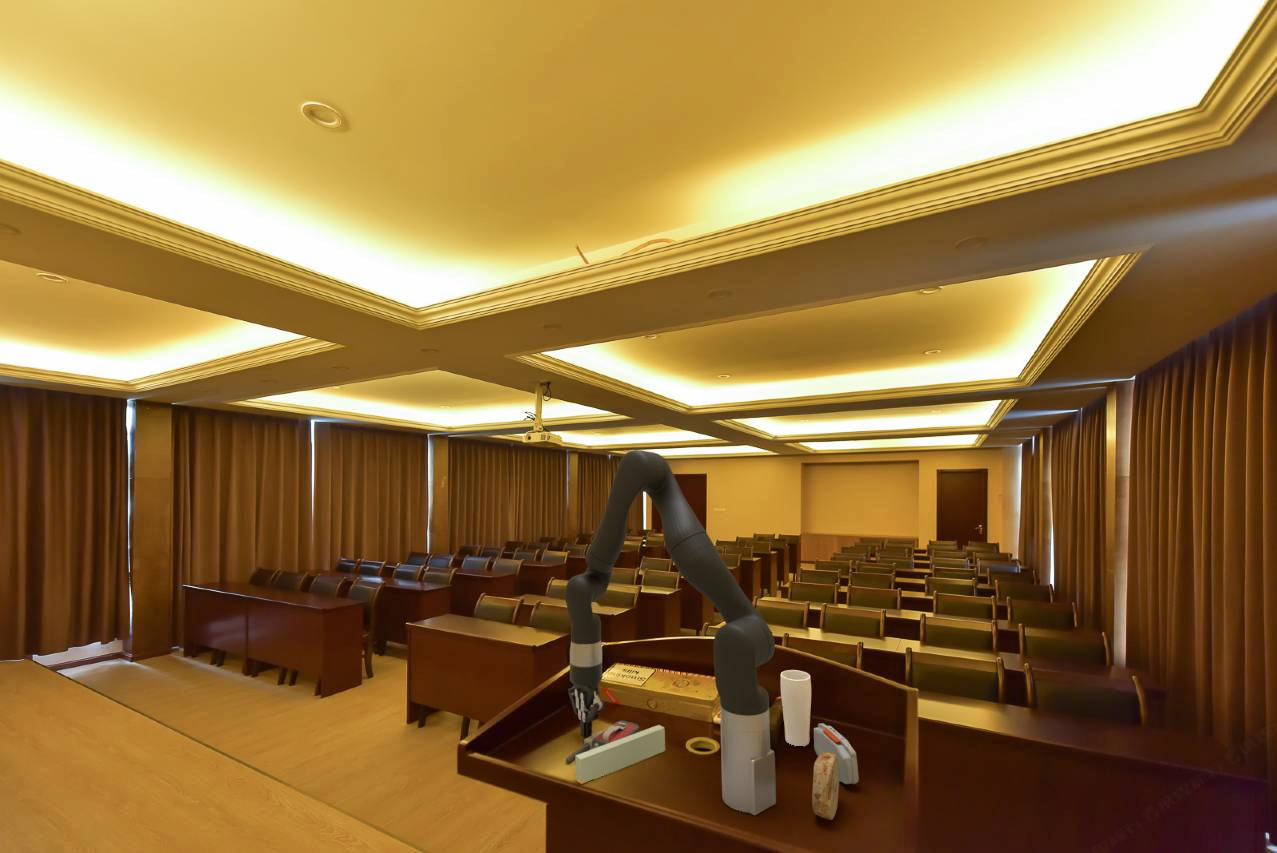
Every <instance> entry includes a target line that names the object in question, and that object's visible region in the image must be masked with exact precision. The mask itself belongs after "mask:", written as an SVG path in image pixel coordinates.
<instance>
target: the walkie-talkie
mask: <svg viewBox="0 0 1277 853" xmlns="http://www.w3.org/2000/svg"><path fill="white" fill-rule="evenodd" d="M638 732H640V726H639V725H638V724H637V723H634V722H629V721H626V720H619V721H616V722H614V723H613V724H611V725H610V726H609V727H608V728H606V729H604V730H602V731H601V730H600V731H597V732H594V733H592V735H591V736H590V737H588V738H584V740H583V745H582V746H580V747H579V748H578V749H577V750H575V751H574V752H573V753H571V754H569V755H568V756H567V757H566V758H565V762H566V763H570V762H571V761H573V760H574V759H575V755H578V754H581V753H584V752H586V751H588V750H592V749H594V748H597V747H600V746H603V745H605V744H608V743H611V742H613V741H616V740H619V739H622V738H624V737H627V736H630V735H633V734H635V733H638Z"/></svg>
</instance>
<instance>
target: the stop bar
mask: <svg viewBox="0 0 1277 853" xmlns="http://www.w3.org/2000/svg"><path fill="white" fill-rule="evenodd" d="M665 734H666V731H665V727H664V726H662V725H660V724H658V725H655V726H652V727H650V728H646V729H644V730H640V731H639V732H638V733H635V734H633V735H630V736H627V737H624V738H622V739H619V740H616V741H613V742H611V743H608V744H605V745H603V746H600V747H597V748H594V749H592V750H590V749H588V750H585V751H583V752H582V753H581V754H578V755H575V758H574V759H575V761H574V762H575V764H574V765H575V780H576V779H577V780H579V781H581V782H583V781H589V780H592V779H595V778H598V777H600V778H602V777H601V776H603V777H605V776H607V775H610V774H612V773H615V772H618V771H619V770H622V769H624V768H628V767H629V766H631V765H635V764H637V763H639V762H641V761H644V760H647V759H648V758H651V757H654V756H656V755H659V754H662V753H663V752H666V735H665ZM609 773H610V774H609ZM606 774H607V775H606ZM604 775H605V776H604ZM598 779H599V778H598ZM595 780H596V779H595Z"/></svg>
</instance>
